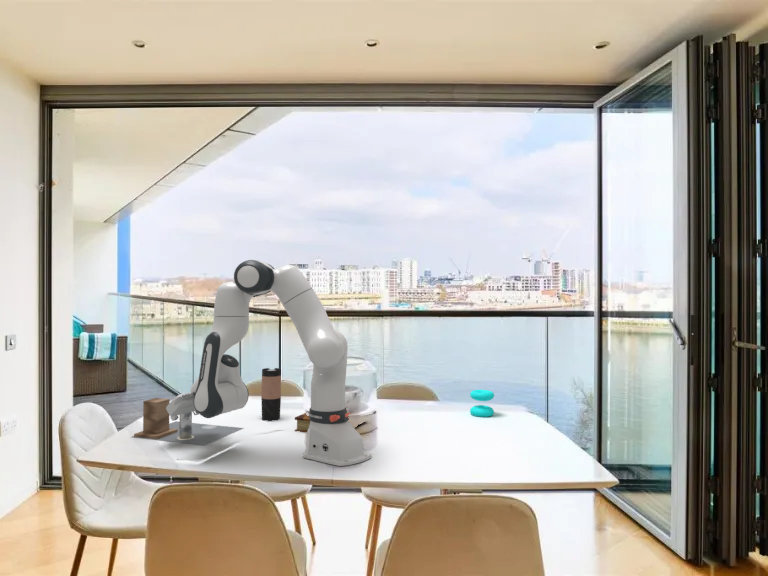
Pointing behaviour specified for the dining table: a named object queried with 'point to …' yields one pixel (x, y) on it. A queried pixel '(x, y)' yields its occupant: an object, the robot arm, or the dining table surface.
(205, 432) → the board
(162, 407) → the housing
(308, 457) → the robot arm
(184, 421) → the peg
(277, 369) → the travel mug
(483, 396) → the donuts
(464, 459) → the dining table surface
